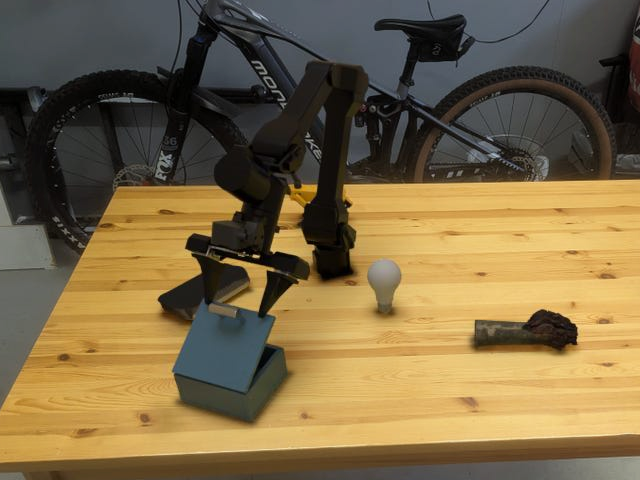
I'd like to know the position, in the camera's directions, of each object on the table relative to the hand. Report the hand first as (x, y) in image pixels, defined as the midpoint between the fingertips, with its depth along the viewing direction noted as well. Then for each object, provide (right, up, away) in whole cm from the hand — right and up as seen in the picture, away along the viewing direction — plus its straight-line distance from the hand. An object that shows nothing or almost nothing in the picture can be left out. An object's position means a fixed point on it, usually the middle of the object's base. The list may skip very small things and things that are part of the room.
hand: (233, 311), depth 101 cm
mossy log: (+47, -5, +16) cm, 50 cm away
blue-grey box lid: (-1, -5, 0) cm, 5 cm away
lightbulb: (+22, +1, +22) cm, 31 cm away
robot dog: (+4, +22, +47) cm, 52 cm away
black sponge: (-12, +3, +24) cm, 27 cm away
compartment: (-1, -12, +6) cm, 13 cm away
